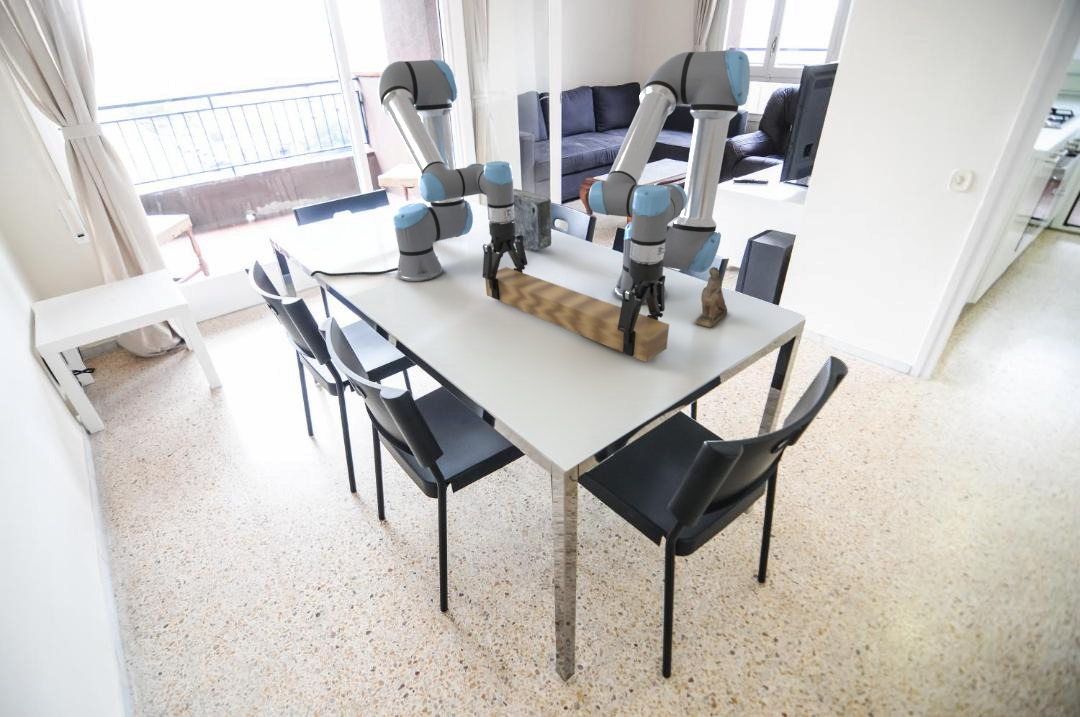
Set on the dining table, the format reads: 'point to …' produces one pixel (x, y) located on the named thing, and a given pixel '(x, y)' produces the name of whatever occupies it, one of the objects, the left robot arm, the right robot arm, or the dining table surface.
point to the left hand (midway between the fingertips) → (507, 293)
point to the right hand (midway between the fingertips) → (639, 346)
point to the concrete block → (532, 219)
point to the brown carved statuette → (712, 301)
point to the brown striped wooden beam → (579, 313)
